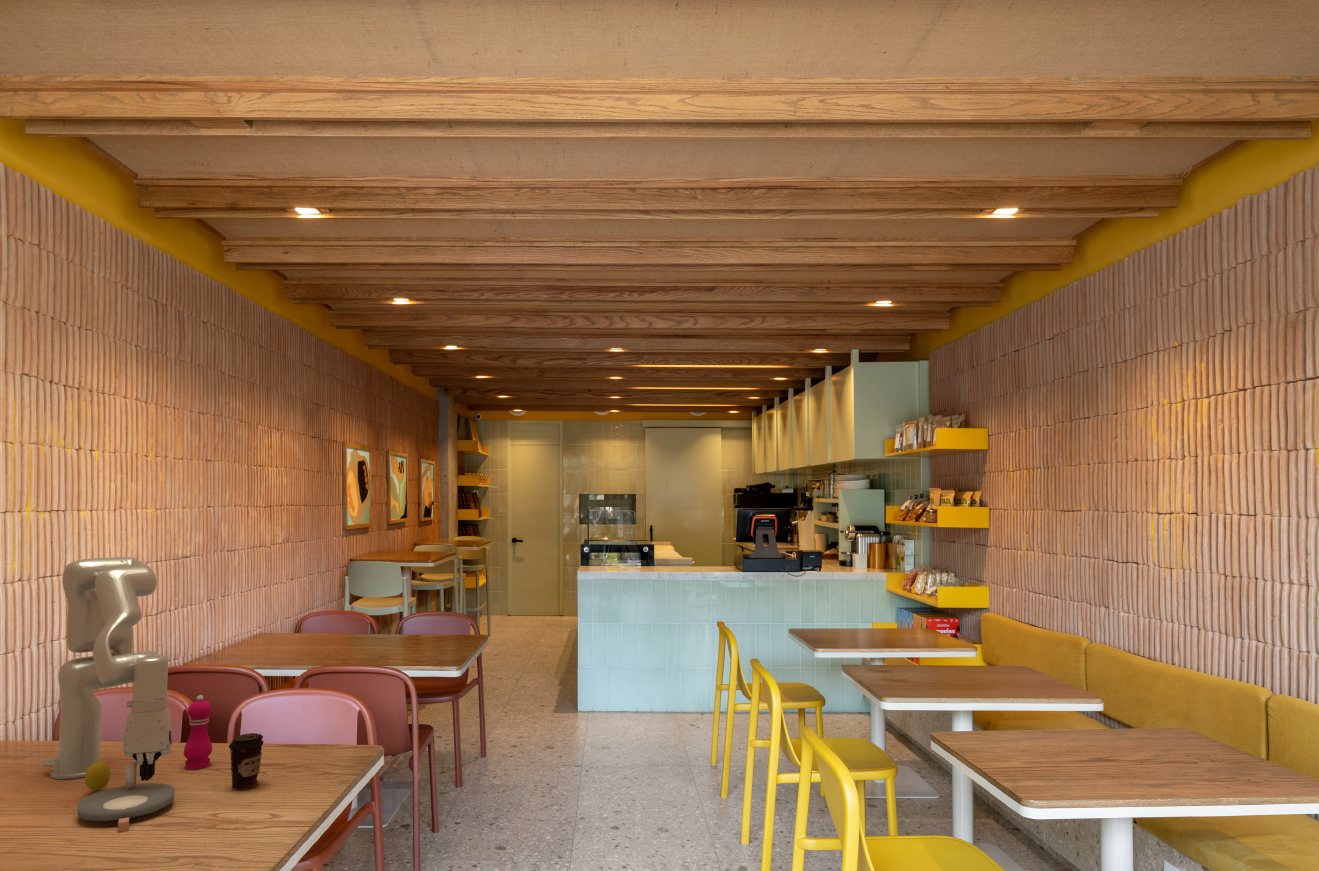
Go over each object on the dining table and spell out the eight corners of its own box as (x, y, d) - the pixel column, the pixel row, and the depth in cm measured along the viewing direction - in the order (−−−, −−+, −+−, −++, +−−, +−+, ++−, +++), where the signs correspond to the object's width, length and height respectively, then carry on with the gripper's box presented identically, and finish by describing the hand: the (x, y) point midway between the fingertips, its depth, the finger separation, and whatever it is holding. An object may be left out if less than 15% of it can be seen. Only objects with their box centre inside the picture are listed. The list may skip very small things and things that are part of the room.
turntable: (90, 828, 190) (92, 792, 190) (67, 806, 203) (69, 772, 204) (186, 804, 205) (187, 770, 205) (158, 785, 218) (160, 754, 219)
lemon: (92, 788, 220) (93, 757, 220) (114, 788, 220) (115, 757, 221) (79, 796, 214) (80, 764, 215) (101, 795, 215) (103, 763, 215)
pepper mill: (217, 762, 241) (219, 692, 243) (201, 770, 234) (203, 698, 235) (193, 762, 242) (196, 692, 243) (177, 770, 235) (180, 697, 236)
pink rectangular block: (118, 827, 194) (119, 818, 194) (128, 826, 195) (129, 817, 195) (117, 832, 191) (118, 823, 191) (128, 830, 192) (128, 821, 192)
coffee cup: (270, 783, 224) (272, 733, 225) (245, 793, 216) (247, 742, 217) (245, 779, 227) (246, 730, 228) (220, 789, 219) (221, 739, 220)
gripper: (110, 710, 208) (107, 786, 206) (175, 707, 210) (172, 782, 209) (124, 703, 215) (121, 776, 214) (186, 700, 218) (184, 772, 216)
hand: (146, 778), depth 211 cm, fingers closed
